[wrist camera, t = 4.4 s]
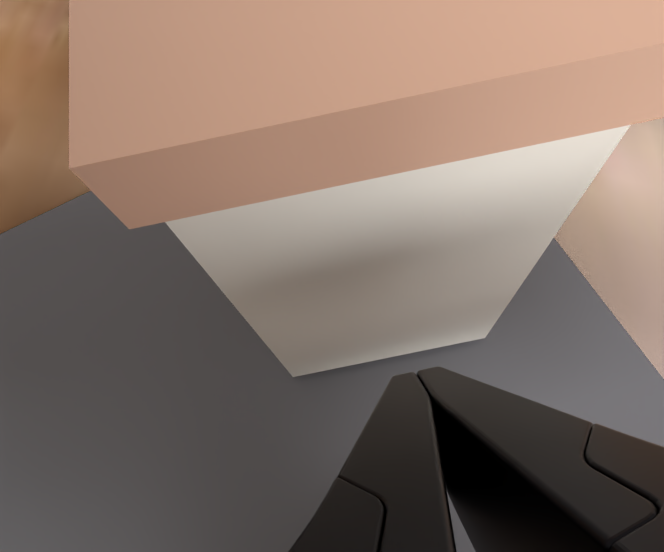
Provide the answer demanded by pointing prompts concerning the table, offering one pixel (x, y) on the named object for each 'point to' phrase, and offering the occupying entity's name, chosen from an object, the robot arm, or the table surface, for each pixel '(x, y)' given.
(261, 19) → the white lidded canister
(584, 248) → the table surface
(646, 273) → the table surface
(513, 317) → the board
